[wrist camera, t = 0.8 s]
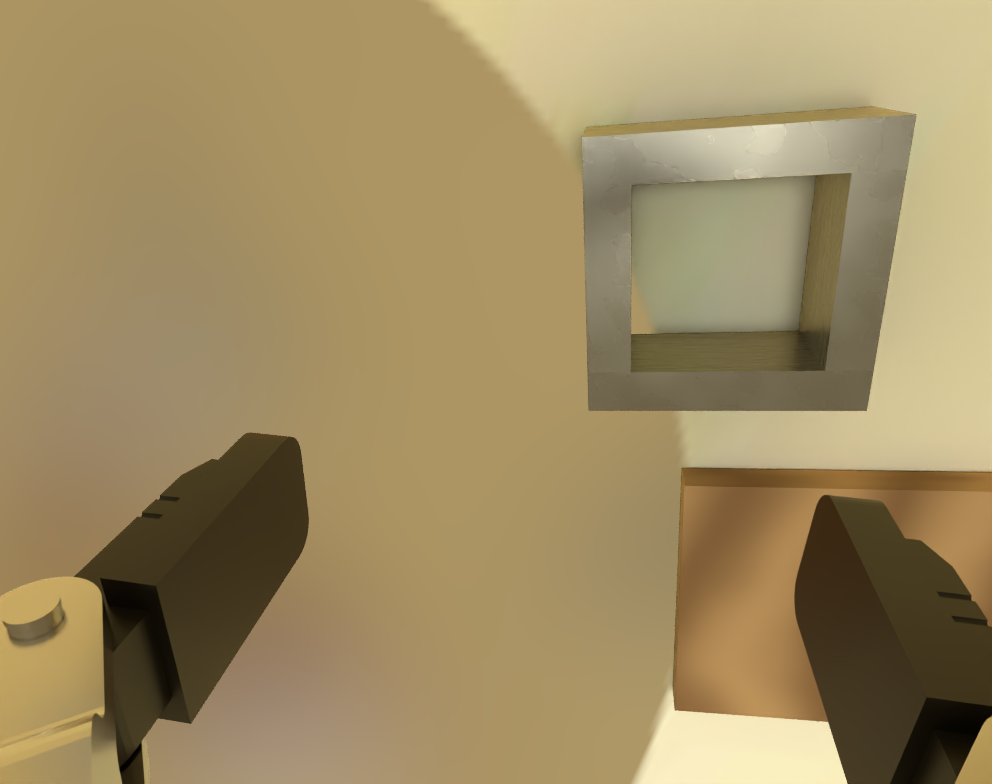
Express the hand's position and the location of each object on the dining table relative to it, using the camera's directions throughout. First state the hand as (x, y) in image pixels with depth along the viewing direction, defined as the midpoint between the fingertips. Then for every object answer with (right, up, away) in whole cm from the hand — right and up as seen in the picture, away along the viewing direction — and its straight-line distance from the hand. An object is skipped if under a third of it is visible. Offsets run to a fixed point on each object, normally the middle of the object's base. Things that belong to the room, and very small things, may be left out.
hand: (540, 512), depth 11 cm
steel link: (+8, +7, +16) cm, 20 cm away
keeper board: (+16, -8, +22) cm, 29 cm away
